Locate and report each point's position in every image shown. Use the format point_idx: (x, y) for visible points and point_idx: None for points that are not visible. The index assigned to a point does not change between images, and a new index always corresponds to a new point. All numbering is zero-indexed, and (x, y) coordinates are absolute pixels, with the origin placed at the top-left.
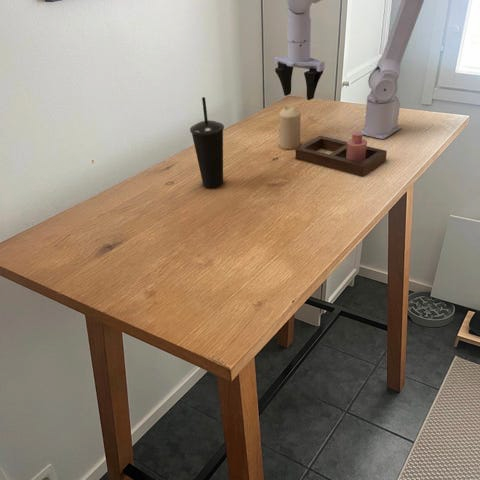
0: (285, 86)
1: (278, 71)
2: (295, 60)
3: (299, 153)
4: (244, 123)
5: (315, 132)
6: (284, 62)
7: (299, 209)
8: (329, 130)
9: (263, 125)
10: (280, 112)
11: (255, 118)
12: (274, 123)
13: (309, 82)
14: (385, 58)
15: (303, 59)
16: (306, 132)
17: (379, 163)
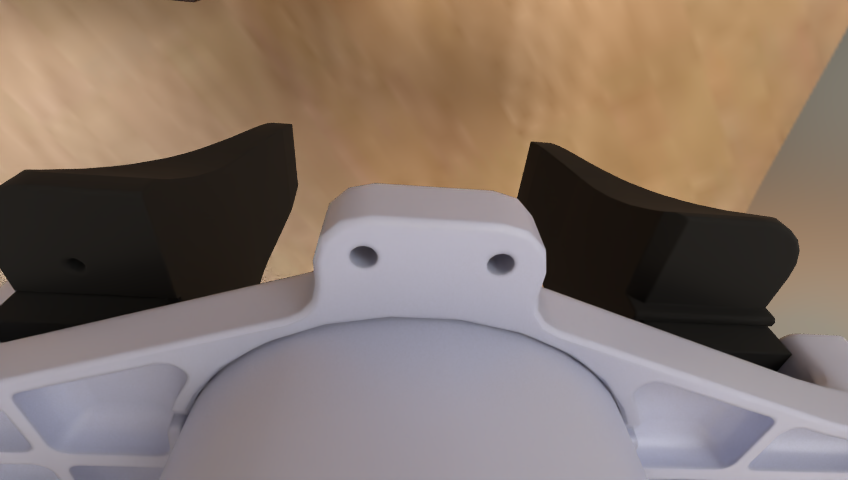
0: (556, 177)
1: (712, 213)
2: (325, 363)
3: None
4: (793, 98)
5: (360, 150)
6: (665, 336)
7: None
8: (318, 197)
9: (669, 118)
10: None
11: (743, 182)
12: (617, 166)
13: (158, 164)
14: None
15: (181, 445)
16: (401, 131)
17: None
